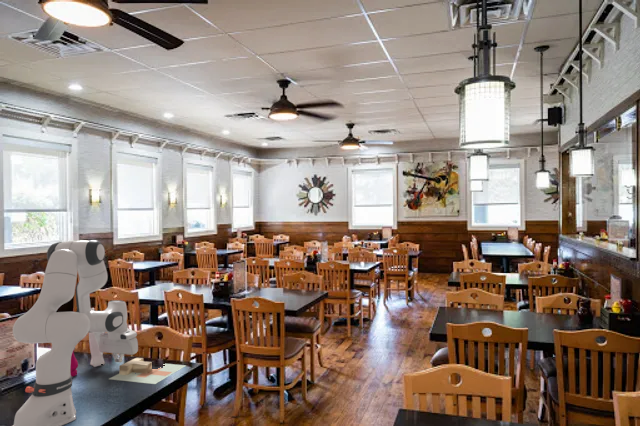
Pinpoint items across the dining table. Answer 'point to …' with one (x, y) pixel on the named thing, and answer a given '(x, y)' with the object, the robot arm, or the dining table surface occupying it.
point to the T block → (135, 366)
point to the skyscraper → (95, 348)
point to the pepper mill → (73, 365)
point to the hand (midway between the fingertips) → (118, 361)
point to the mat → (150, 374)
